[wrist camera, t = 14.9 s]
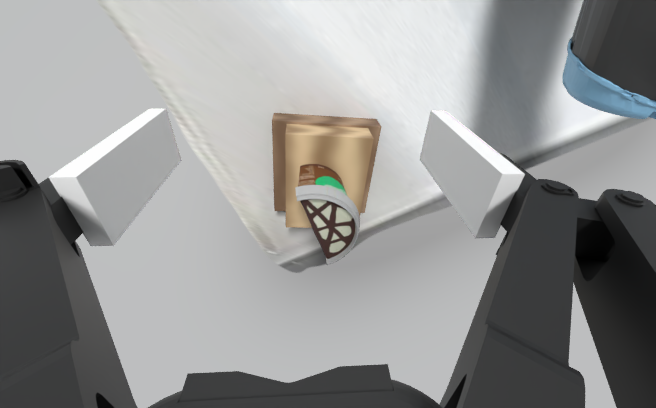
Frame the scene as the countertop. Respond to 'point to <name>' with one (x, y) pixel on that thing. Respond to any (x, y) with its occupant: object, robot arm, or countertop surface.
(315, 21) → the countertop surface
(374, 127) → the tower base
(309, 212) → the food container
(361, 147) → the tower top
